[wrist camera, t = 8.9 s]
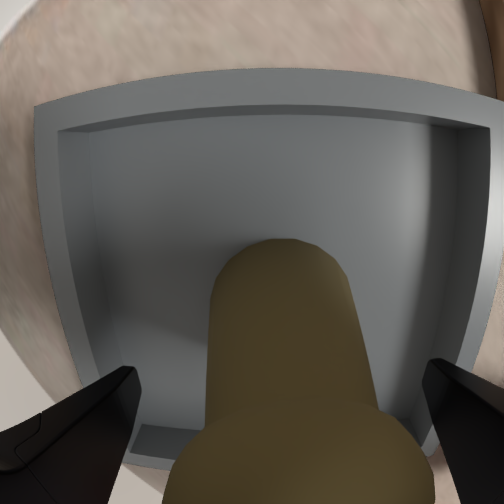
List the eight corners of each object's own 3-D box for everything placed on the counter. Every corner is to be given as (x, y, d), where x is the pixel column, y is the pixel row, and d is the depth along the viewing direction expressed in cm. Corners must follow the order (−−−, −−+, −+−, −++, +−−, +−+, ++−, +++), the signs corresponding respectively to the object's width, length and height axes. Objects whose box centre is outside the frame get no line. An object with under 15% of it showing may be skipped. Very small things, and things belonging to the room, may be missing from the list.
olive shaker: (189, 334, 14) (102, 570, 3) (247, 211, 12) (171, 476, 2) (307, 381, 15) (336, 603, 4) (377, 276, 13) (535, 494, 2)
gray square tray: (417, 421, 16) (433, 454, 13) (131, 427, 17) (116, 461, 14) (469, 108, 11) (508, 103, 8) (73, 112, 12) (34, 106, 9)
